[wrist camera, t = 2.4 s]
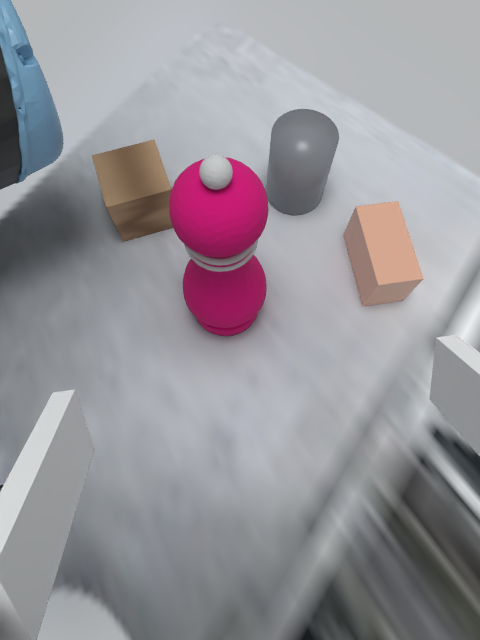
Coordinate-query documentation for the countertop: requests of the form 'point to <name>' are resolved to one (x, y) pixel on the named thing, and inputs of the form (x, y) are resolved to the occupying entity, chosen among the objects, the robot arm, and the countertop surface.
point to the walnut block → (135, 189)
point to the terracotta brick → (381, 254)
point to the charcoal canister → (300, 160)
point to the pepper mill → (221, 241)
